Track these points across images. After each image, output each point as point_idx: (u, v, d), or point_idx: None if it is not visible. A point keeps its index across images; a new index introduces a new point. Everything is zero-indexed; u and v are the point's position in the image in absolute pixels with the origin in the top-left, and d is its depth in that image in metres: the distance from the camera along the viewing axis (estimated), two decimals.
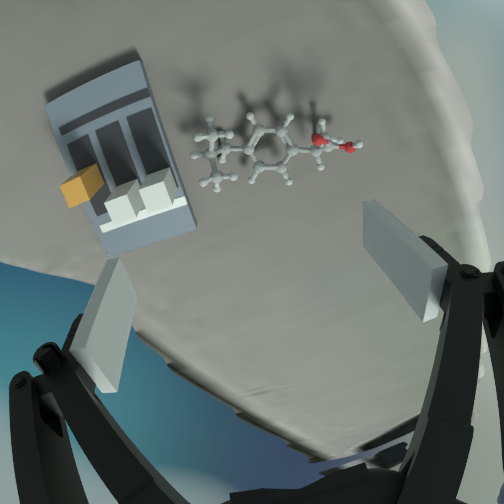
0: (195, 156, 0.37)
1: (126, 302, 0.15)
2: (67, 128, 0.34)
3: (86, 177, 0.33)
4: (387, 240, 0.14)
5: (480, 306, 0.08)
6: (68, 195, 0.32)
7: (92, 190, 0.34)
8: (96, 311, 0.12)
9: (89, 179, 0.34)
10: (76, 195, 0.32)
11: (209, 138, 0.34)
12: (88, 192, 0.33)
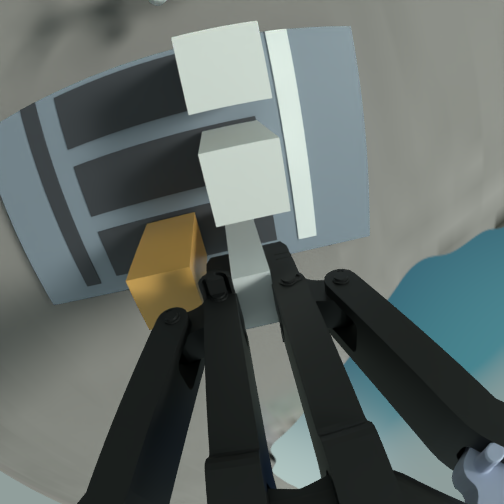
0: None
1: None
2: (88, 270, 0.20)
3: (142, 261, 0.15)
4: None
5: (315, 307, 0.10)
6: None
7: (180, 250, 0.15)
8: (243, 248, 0.14)
9: (154, 251, 0.15)
10: (174, 298, 0.14)
11: None
12: (173, 264, 0.14)
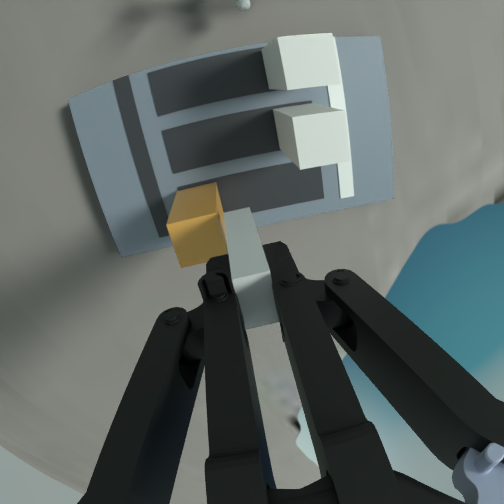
0: (245, 0, 0.16)
1: None
2: (162, 222, 0.25)
3: (178, 212, 0.19)
4: None
5: (315, 307, 0.10)
6: (201, 254, 0.19)
7: (207, 204, 0.19)
8: (243, 248, 0.14)
9: (187, 206, 0.20)
10: (203, 239, 0.19)
11: None
12: (204, 212, 0.18)
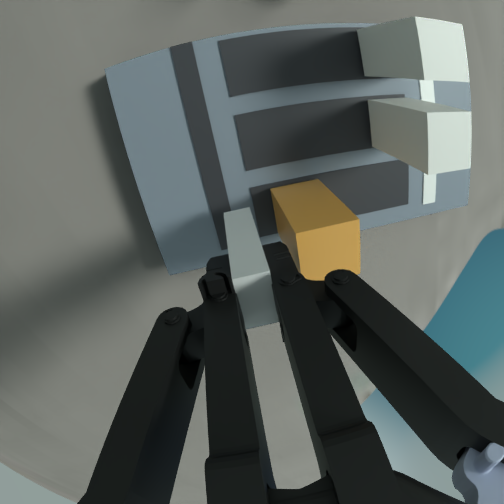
0: None
1: None
2: None
3: (299, 217, 0.15)
4: None
5: (315, 307, 0.10)
6: (331, 270, 0.15)
7: (335, 207, 0.15)
8: (243, 248, 0.14)
9: (306, 209, 0.16)
10: (337, 252, 0.14)
11: None
12: (340, 218, 0.14)
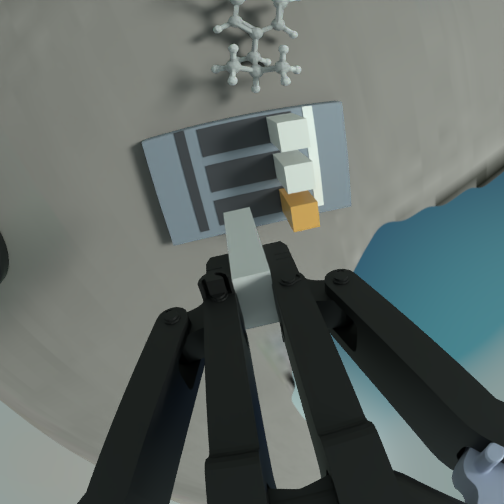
0: (257, 87, 0.31)
1: None
2: (203, 222, 0.40)
3: (292, 201, 0.35)
4: None
5: (315, 307, 0.10)
6: (306, 224, 0.35)
7: (308, 197, 0.35)
8: (243, 248, 0.14)
9: (295, 198, 0.35)
10: (308, 215, 0.34)
11: (236, 69, 0.28)
12: (309, 201, 0.34)
